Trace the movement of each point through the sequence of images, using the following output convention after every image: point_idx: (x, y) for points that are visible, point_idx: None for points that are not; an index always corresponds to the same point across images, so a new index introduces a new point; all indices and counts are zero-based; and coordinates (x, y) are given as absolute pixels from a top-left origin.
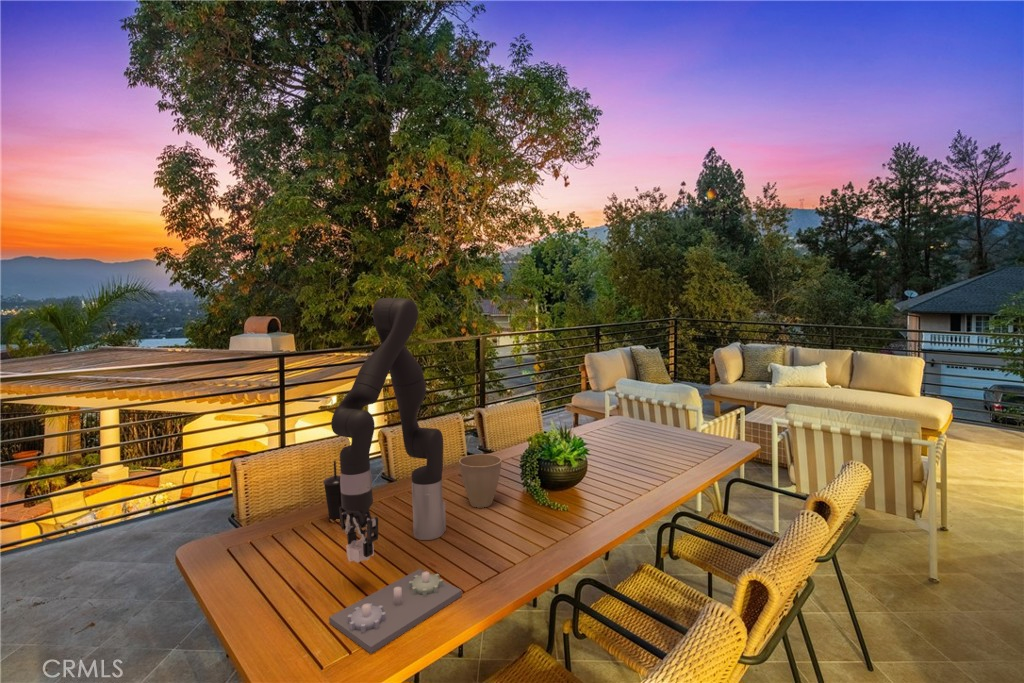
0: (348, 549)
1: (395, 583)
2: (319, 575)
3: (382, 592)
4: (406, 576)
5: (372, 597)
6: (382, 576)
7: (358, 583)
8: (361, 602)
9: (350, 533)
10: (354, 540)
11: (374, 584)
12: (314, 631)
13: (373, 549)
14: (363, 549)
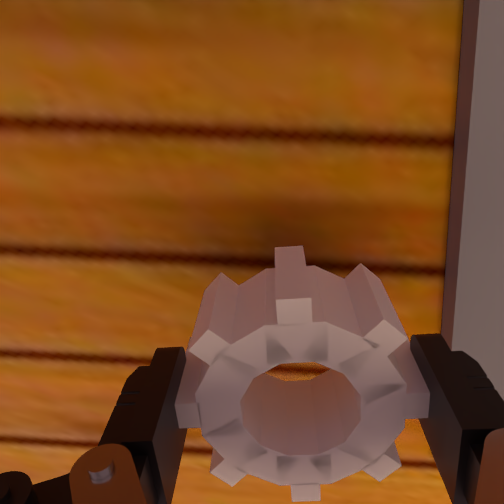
0: (301, 498)
1: (487, 141)
2: (41, 335)
3: (496, 245)
4: (487, 36)
5: (486, 302)
6: (288, 114)
7: (251, 246)
8: (472, 354)
9: (155, 501)
10: (185, 407)
11: (327, 193)
12: (428, 499)
13: (376, 290)
14: (430, 444)
